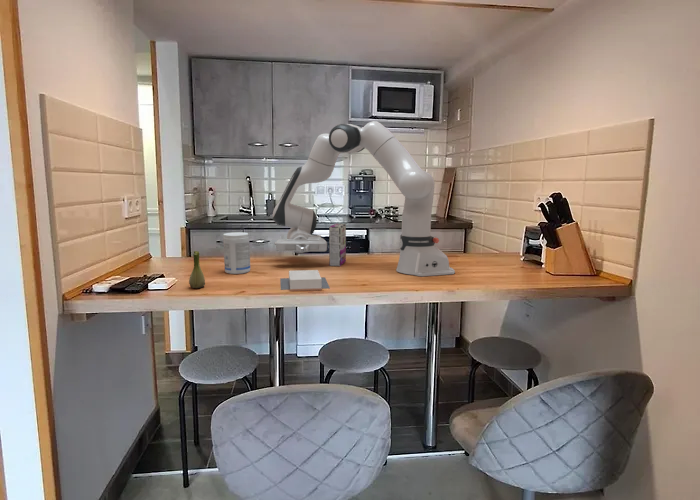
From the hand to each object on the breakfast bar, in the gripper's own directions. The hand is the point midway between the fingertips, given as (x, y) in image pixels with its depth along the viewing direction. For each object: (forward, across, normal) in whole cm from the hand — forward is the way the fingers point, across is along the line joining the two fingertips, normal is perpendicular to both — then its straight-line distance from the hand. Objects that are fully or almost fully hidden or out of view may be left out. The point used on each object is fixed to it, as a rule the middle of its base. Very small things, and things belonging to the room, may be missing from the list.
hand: (303, 250), depth 175 cm
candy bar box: (-12, +16, +9) cm, 22 cm away
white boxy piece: (+17, -2, +5) cm, 18 cm away
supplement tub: (-2, -25, +9) cm, 27 cm away
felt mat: (+21, -2, +7) cm, 22 cm away
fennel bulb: (+20, -37, +8) cm, 43 cm away
